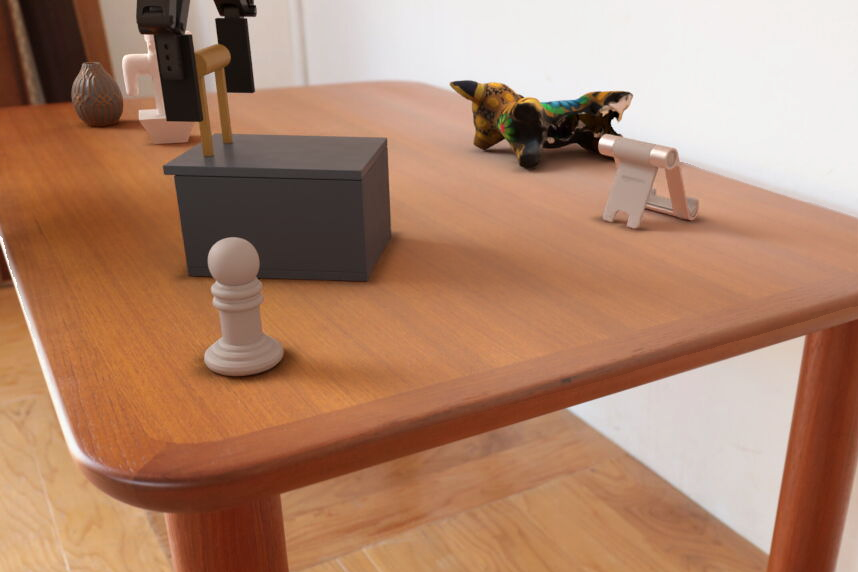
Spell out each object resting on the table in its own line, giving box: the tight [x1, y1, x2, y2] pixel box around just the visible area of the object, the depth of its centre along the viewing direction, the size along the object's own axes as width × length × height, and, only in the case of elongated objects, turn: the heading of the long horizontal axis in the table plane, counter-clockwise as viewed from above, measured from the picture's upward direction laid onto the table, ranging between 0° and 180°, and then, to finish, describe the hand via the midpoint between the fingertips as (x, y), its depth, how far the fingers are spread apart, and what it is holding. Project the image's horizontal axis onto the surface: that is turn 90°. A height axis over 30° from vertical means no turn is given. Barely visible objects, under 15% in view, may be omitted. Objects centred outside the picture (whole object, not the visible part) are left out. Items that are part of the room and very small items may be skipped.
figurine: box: [121, 29, 196, 145], centre depth 122 cm, size 7×9×15 cm
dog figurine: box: [449, 79, 634, 170], centre depth 119 cm, size 20×12×18 cm
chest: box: [173, 146, 392, 282], centre depth 81 cm, size 16×13×9 cm
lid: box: [162, 43, 388, 180], centre depth 77 cm, size 16×13×9 cm
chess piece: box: [203, 237, 285, 377], centre depth 61 cm, size 5×5×9 cm
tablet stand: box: [598, 134, 700, 230], centre depth 93 cm, size 9×8×8 cm
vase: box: [70, 61, 124, 127], centre depth 132 cm, size 7×7×9 cm
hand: (214, 105), depth 77 cm, fingers open, 13 cm apart
